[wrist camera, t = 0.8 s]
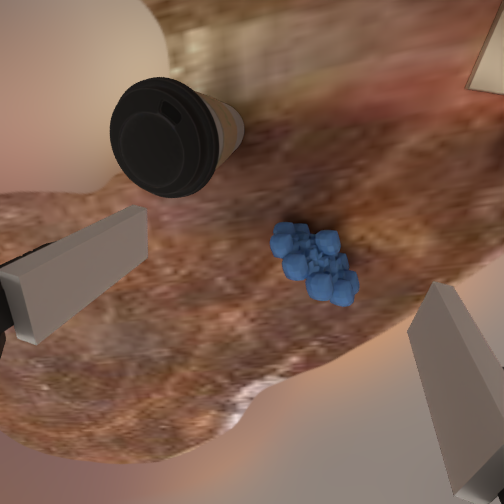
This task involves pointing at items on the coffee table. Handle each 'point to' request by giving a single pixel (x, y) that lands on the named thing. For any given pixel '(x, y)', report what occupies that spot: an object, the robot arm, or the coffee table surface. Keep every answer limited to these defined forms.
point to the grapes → (315, 262)
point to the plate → (490, 60)
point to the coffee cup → (172, 136)
